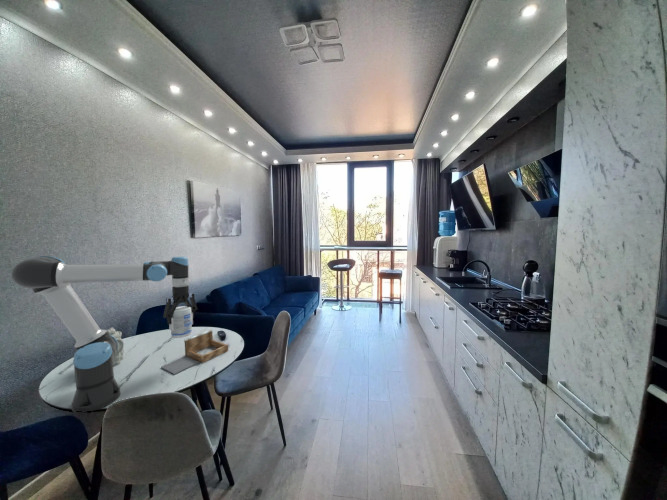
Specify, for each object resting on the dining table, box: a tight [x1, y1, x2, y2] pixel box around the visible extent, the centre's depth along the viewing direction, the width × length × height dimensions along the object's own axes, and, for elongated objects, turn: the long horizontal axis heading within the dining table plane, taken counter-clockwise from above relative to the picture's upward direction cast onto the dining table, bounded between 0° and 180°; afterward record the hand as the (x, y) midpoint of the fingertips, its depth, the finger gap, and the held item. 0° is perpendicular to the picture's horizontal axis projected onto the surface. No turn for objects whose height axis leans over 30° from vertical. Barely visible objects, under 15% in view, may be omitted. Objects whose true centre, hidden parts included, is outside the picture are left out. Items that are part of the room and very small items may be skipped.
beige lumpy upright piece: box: [105, 327, 125, 367], centre depth 137 cm, size 16×15×19 cm
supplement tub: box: [170, 305, 193, 339], centre depth 135 cm, size 10×10×15 cm
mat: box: [160, 356, 200, 376], centre depth 135 cm, size 13×13×1 cm
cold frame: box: [183, 329, 229, 364], centre depth 148 cm, size 16×17×10 cm
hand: (181, 326), depth 135 cm, fingers closed on supplement tub, 9 cm apart
